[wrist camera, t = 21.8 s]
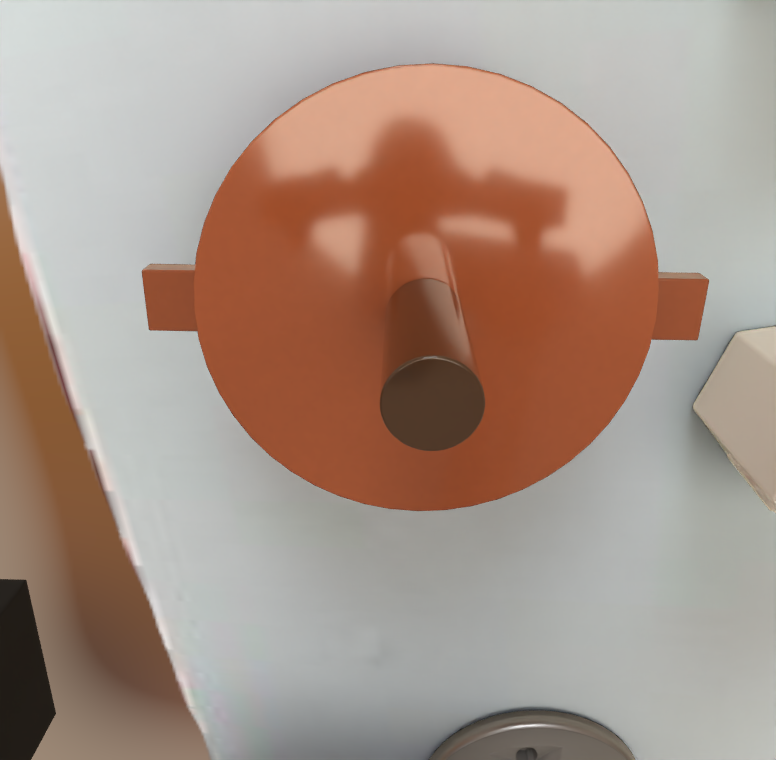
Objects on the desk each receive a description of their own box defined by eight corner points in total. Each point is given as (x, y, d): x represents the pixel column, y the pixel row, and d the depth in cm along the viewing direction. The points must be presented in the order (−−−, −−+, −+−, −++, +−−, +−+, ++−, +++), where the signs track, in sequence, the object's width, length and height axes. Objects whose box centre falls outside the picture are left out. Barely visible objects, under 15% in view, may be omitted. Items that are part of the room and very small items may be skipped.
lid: (615, 499, 30) (692, 654, 22) (219, 491, 30) (155, 642, 22) (685, 67, 24) (828, 67, 16) (179, 60, 24) (68, 56, 16)
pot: (610, 396, 39) (675, 499, 30) (218, 389, 39) (161, 488, 30) (657, 80, 33) (757, 86, 23) (190, 74, 33) (108, 76, 24)
